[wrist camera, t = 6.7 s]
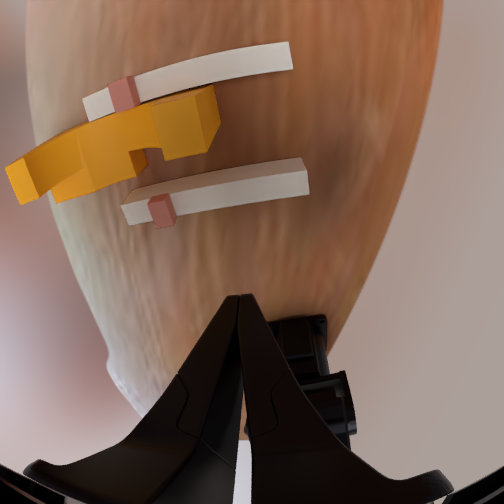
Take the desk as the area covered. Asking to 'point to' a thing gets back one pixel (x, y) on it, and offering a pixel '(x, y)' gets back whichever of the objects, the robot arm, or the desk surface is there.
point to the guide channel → (211, 183)
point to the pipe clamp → (116, 146)
